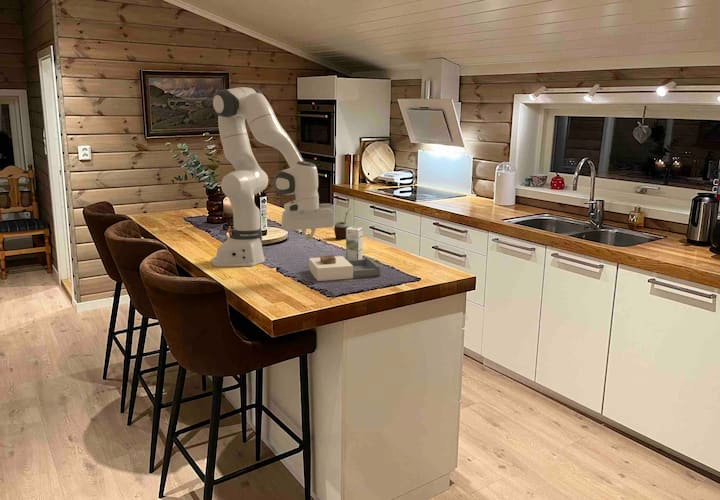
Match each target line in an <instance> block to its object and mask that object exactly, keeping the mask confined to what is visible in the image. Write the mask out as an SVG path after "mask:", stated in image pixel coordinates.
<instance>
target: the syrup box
mask: <svg viewBox="0 0 720 500" xmlns="http://www.w3.org/2000/svg"><path fill="white" fill-rule="evenodd" d="M363 234H364V233H363V227H362V226H348V228H347V229H346V239H345V252H346V253H345V259H346V260H360V259H363Z"/></svg>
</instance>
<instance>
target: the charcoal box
mask: <svg viewBox="0 0 720 500" xmlns="http://www.w3.org/2000/svg"><path fill="white" fill-rule="evenodd" d="M347 261H348V262H349V263H350V264H352V265H353V278H352V279H359V278H361V279H363V278H362V277H364V278H372V277H371V276H377V277H380V276H381V275H380V273H381V272H380V271H381V267H380V265H379V264H378V263H376V262H375V261H373V260H372V259H371V258H370V257H369V256H365V257H364V258H362V259H360V260H347Z"/></svg>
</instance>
